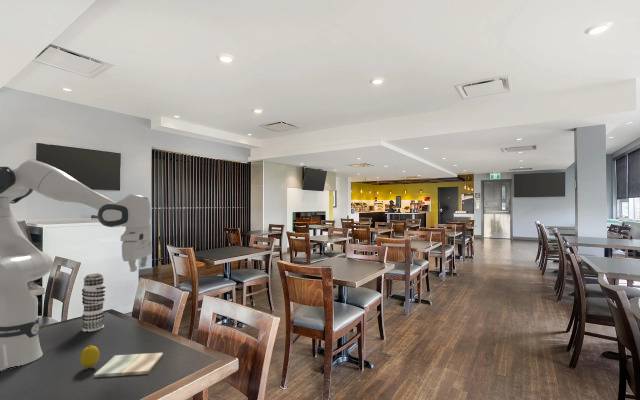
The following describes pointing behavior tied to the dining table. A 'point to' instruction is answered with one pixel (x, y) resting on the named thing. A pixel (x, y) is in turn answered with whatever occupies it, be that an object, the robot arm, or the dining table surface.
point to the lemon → (89, 356)
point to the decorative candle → (93, 302)
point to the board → (129, 365)
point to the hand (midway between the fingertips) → (138, 269)
